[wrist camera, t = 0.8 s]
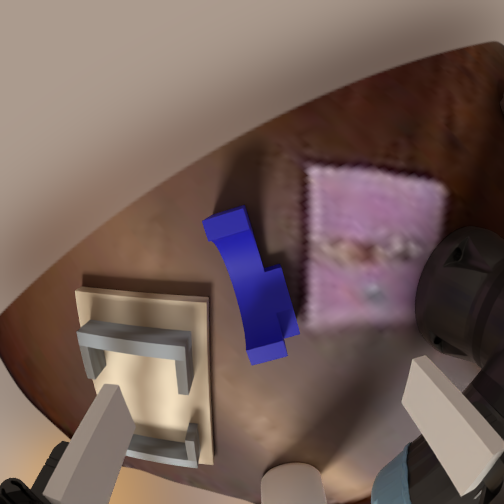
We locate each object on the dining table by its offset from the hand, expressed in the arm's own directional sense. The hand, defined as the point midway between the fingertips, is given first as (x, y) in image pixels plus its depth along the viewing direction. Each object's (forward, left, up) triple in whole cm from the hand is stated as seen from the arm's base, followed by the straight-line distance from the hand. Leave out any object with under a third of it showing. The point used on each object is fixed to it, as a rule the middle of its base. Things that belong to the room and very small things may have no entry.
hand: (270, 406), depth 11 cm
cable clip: (0, -2, -17) cm, 17 cm away
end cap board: (+12, +13, -16) cm, 24 cm away
